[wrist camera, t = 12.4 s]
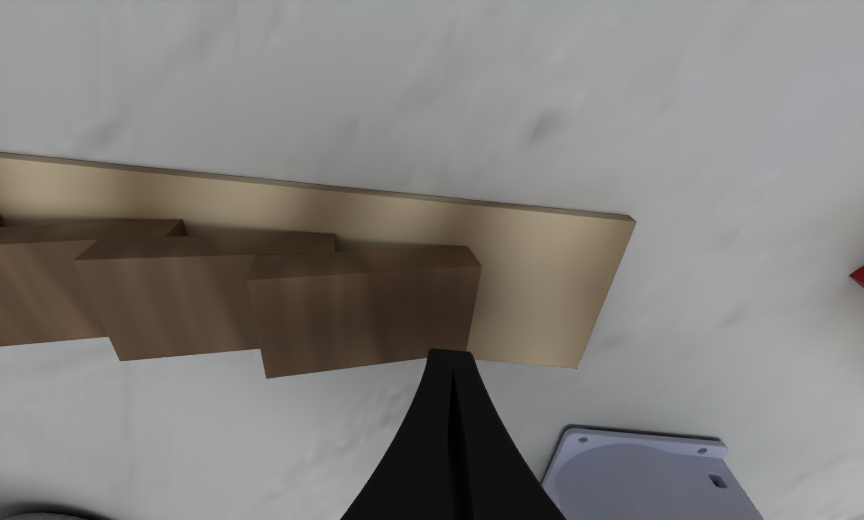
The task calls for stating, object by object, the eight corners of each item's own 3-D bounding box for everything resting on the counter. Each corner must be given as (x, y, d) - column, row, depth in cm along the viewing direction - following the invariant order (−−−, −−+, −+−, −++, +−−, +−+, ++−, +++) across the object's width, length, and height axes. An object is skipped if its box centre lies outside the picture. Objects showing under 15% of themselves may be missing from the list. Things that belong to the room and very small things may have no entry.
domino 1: (164, 236, 13) (-104, 249, 12) (200, 328, 15) (-23, 348, 14) (182, 219, 14) (-56, 229, 13) (212, 306, 17) (11, 322, 15)
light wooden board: (629, 216, 14) (636, 221, 14) (572, 359, 18) (576, 368, 18) (-22, 150, 14) (-41, 153, 13) (63, 311, 18) (51, 319, 17)
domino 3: (482, 266, 13) (246, 280, 11) (465, 352, 15) (266, 378, 13) (467, 246, 15) (254, 255, 13) (454, 328, 17) (271, 348, 15)
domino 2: (335, 252, 13) (73, 260, 11) (339, 341, 15) (120, 361, 13) (334, 233, 15) (100, 237, 13) (338, 318, 17) (139, 332, 15)
